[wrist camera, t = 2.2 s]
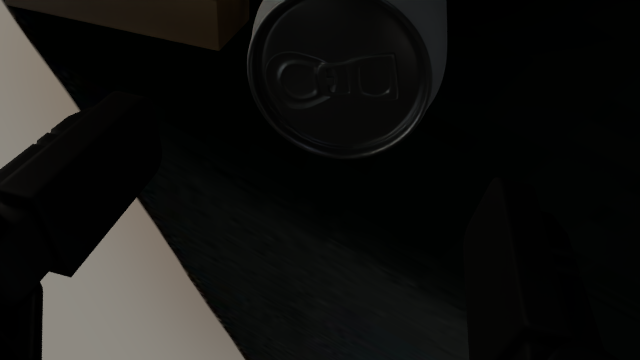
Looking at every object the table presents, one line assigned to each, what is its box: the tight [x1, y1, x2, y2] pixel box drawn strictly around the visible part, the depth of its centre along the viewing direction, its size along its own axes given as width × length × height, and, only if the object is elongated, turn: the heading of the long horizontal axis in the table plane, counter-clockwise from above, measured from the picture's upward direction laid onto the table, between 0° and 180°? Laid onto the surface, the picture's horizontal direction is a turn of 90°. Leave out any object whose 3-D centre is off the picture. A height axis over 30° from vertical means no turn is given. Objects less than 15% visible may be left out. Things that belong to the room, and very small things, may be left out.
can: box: [247, 0, 447, 159], centre depth 17 cm, size 6×6×12 cm
